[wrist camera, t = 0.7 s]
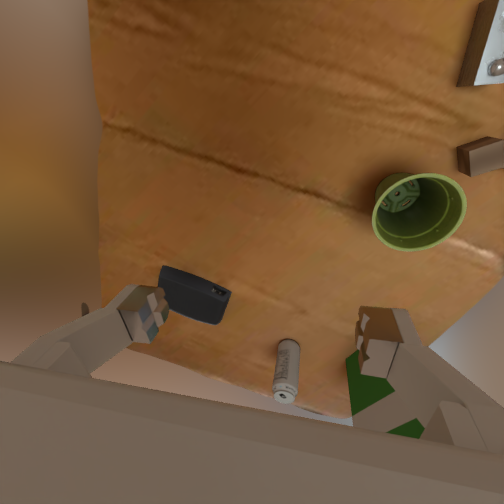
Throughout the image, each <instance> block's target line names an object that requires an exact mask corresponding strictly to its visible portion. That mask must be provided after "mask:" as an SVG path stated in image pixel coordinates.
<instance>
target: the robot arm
mask: <svg viewBox="0 0 504 504" xmlns="http://www.w3.org/2000/svg"><path fill="white" fill-rule="evenodd" d="M164 296H165V293H164V290H163V288H160V287H153V286H145V285H134V284H130V285H127V286H126V287H125V288H124V289H123V290H122V291H121V292H120V293H119V294H118V295H117V296H116V297H115V298H114V299H113V300H112V301H111V302H110V303H109V304H108V305H107V306H106V307H105V308H100V309H98V310H96V311H94V312H92V313H90V314H87V315H85V316H83V317H81V318H79V319H77V320H75V321H72V322H70V323H68V324H66V325H64V326H62V327H60V328H58V329H55V330H53V331H51V332H49V333H47V334H45V335H43V336H40V337H39V338H38V339H37V340H36V341H34V342H33V343H32V344H31V345H30V346H29V347H28V348H26V349H25V350H24V351H23V352H22V353H21V354H20V355H19V356H17V357H16V358H15V359H14V360H13V361H11V363H9V362H3V361H0V504H504V408H503V407H502V406H501V405H499V404H498V403H497V402H496V401H494V400H493V399H492V398H491V397H490V396H488V395H487V394H486V393H485V392H483V391H482V390H481V389H480V388H478V387H477V386H476V385H475V384H473V383H472V382H471V381H470V380H469V379H467V378H466V377H465V376H463V375H462V374H461V373H460V372H459V371H457V370H456V369H455V368H454V367H452V366H451V365H450V364H448V363H447V362H446V361H445V360H444V359H442V358H441V357H440V356H439V355H438V354H436V353H435V352H434V351H433V350H431V349H430V348H429V347H428V346H423V345H422V343H421V340H420V338H419V336H418V334H417V331H416V329H415V327H414V324H413V322H412V320H411V318H410V315H409V313H408V311H407V310H406V309H397V308H382V307H370V306H360V308H359V313H358V314H359V321H357V322H356V328H355V342H356V347H357V349H358V350H359V356H358V361H359V366H360V372H361V374H363V375H369V376H375V377H381V378H386V379H387V381H388V382H389V383H390V385H391V386H392V387H393V388H394V390H395V391H396V392H397V394H398V395H399V396H400V397H401V399H402V400H403V401H404V402H405V404H406V405H407V406H408V408H409V409H410V410H411V411H412V413H413V414H414V415H415V416H416V418H417V419H418V420H419V422H420V423H421V424H422V425H423V427H424V428H425V430H424V431H423V433H422V435H421V437H420V438H419V439H416V438H411V437H406V436H400V435H395V434H390V433H384V432H379V431H373V430H368V429H363V428H357V427H352V426H347V425H341V424H336V423H330V422H325V421H320V420H314V419H309V418H304V417H298V416H293V415H288V414H282V413H276V412H271V411H266V410H260V409H255V408H250V407H244V406H239V405H234V404H228V403H223V402H218V401H212V400H207V399H202V398H196V397H191V396H185V395H179V394H175V393H169V392H164V391H159V390H153V389H148V388H142V387H137V386H132V385H127V384H121V383H116V382H111V381H105V380H100V379H94V378H92V376H91V375H90V373H91V372H93V371H94V370H96V369H97V368H98V367H100V366H101V365H103V364H104V363H105V362H106V361H108V360H109V359H111V358H112V357H113V356H115V355H116V354H118V353H119V352H120V351H122V350H123V349H125V348H126V347H127V346H129V345H130V344H131V343H132V342H140V343H149V344H151V342H152V341H153V339H154V338H155V336H156V335H157V333H158V332H159V330H158V327H159V326H161V325H162V324H164V323H165V321H166V319H167V317H168V314H169V305H168V302H167V301H166V300H165V299H164Z"/></svg>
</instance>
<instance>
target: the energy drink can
mask: <svg viewBox="0 0 504 504" xmlns="http://www.w3.org/2000/svg"><path fill="white" fill-rule="evenodd" d="M299 361H300V347H299V345H298V344H297V343H296V342H295V341H293V340H290V339H286V340H283V341H282V342H281V343H280V344H279V346H278V353H277V360H276V366H275V373H274V380H273V387H272V390H273V392H274V398H275V399H276V400H277V401H279V402H281V403H285V404H289V403H292V402H294V400H295V397H296V396H297V394H298V378H299Z"/></svg>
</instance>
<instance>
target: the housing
mask: <svg viewBox="0 0 504 504" xmlns="http://www.w3.org/2000/svg"><path fill="white" fill-rule="evenodd" d="M497 83H504V0H484V1H482V2H481V3H479V6H478V10H477V13H476V17H475V21H474V24H473V28H472V32H471V35H470V39H469V42H468V46H467V50H466V53H465V57H464V61H463V64H462V68H461V72H460V75H459V79H458V82H457V86H456V87H461V86H473V85H485V84H497Z"/></svg>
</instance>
